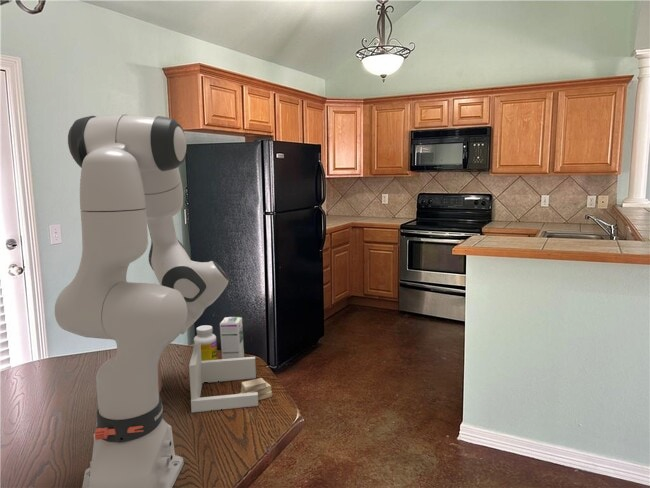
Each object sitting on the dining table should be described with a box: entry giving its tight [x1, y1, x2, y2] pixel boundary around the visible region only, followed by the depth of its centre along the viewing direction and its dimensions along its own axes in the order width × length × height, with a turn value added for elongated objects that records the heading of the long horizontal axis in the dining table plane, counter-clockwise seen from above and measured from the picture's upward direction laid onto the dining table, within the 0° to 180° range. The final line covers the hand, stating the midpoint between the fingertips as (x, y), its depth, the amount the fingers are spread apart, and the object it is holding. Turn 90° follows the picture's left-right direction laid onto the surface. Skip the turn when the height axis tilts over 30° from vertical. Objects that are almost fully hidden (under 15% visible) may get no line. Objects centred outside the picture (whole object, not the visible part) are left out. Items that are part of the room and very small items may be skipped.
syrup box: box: [219, 316, 245, 359], centre depth 143 cm, size 6×6×14 cm
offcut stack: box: [237, 377, 273, 401], centre depth 124 cm, size 8×4×4 cm, turn 121°
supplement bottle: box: [193, 324, 218, 361], centre depth 141 cm, size 7×7×13 cm
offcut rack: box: [188, 341, 259, 413], centre depth 125 cm, size 18×16×12 cm
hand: (145, 349), depth 126 cm, fingers open, 8 cm apart
